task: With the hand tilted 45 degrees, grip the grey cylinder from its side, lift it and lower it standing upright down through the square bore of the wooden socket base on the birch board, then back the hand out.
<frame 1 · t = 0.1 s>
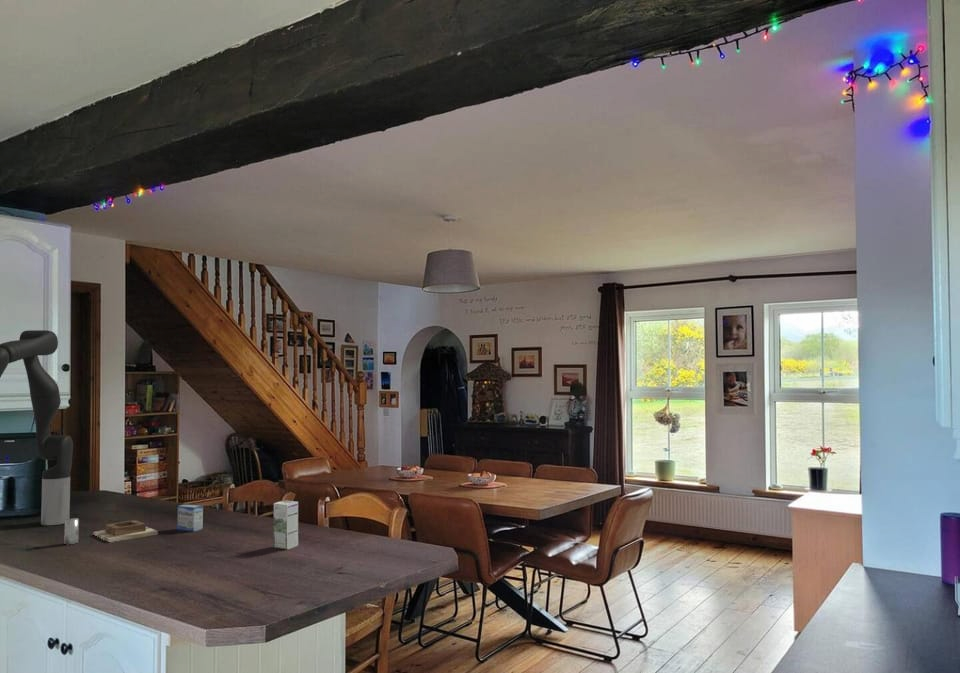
grey cylinder: (71, 543, 231), on the kitchen counter
syrup box: (285, 547, 224), on the kitchen counter
wooden socket base: (125, 534, 244), on the kitchen counter
medicine box: (190, 530, 251), on the kitchen counter
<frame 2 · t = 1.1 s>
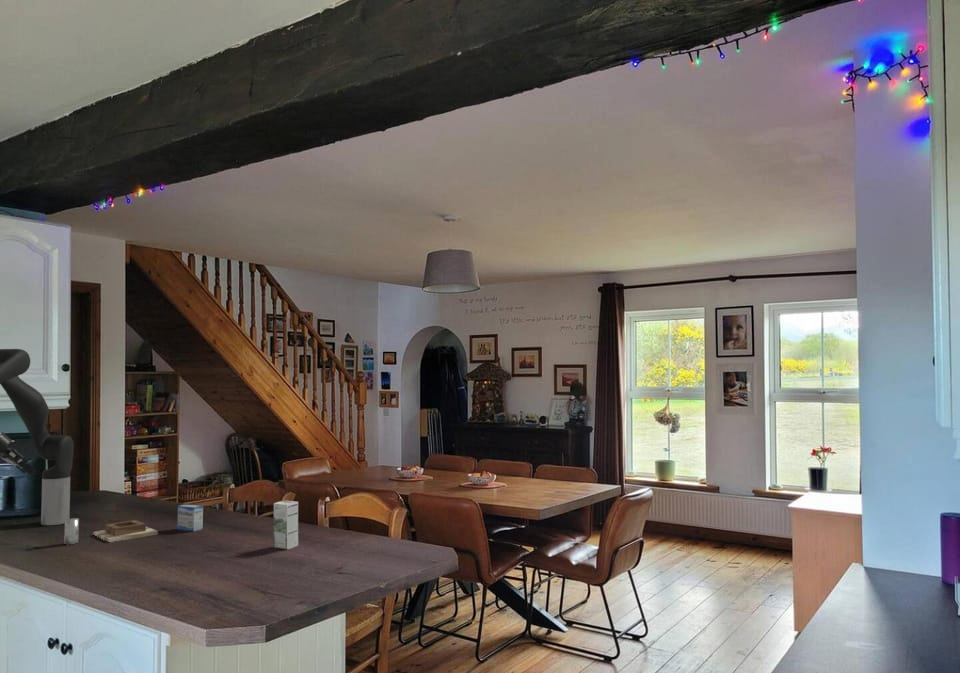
hand: (30, 472, 226), 25 cm above the kitchen counter, tool tilted 45°, fingers open, 8 cm apart
nothing on the kitchen counter moved.
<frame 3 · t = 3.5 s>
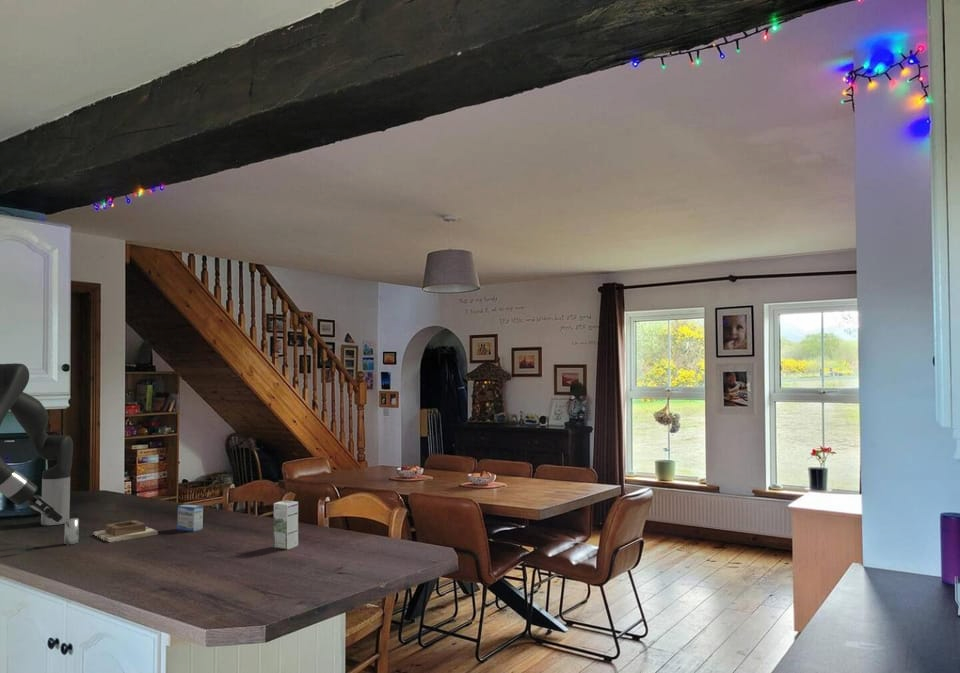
hand: (56, 517, 228), 9 cm above the kitchen counter, tool tilted 45°, fingers open, 8 cm apart
nothing on the kitchen counter moved.
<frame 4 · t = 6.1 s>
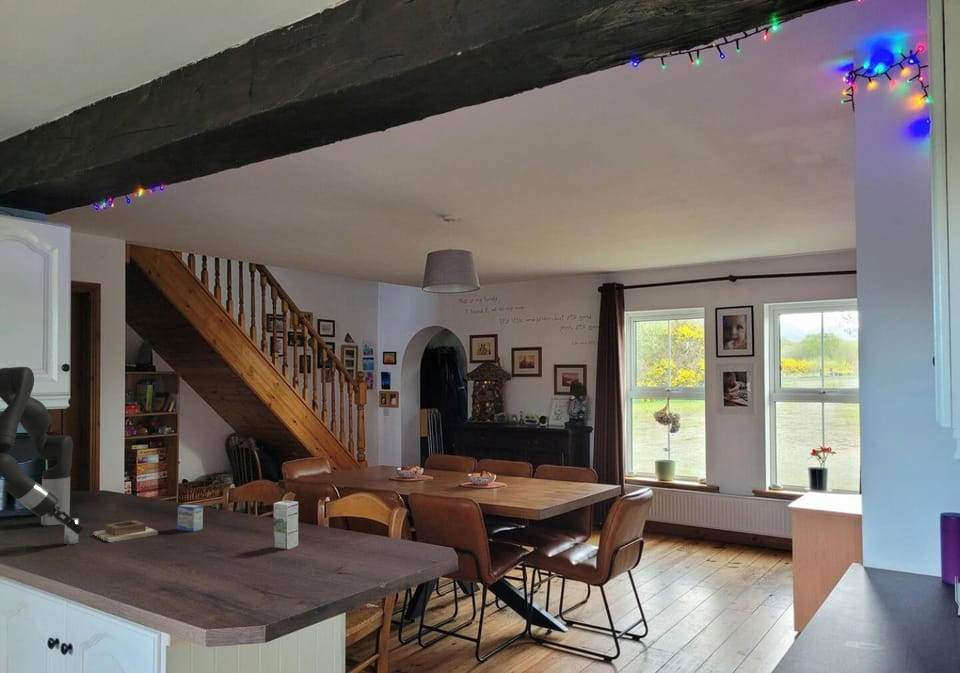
hand: (78, 530, 233), 4 cm above the kitchen counter, tool tilted 45°, fingers closed on grey cylinder, 4 cm apart
grey cylinder: (71, 543, 231), on the kitchen counter, touching gripper
everything else where it was.
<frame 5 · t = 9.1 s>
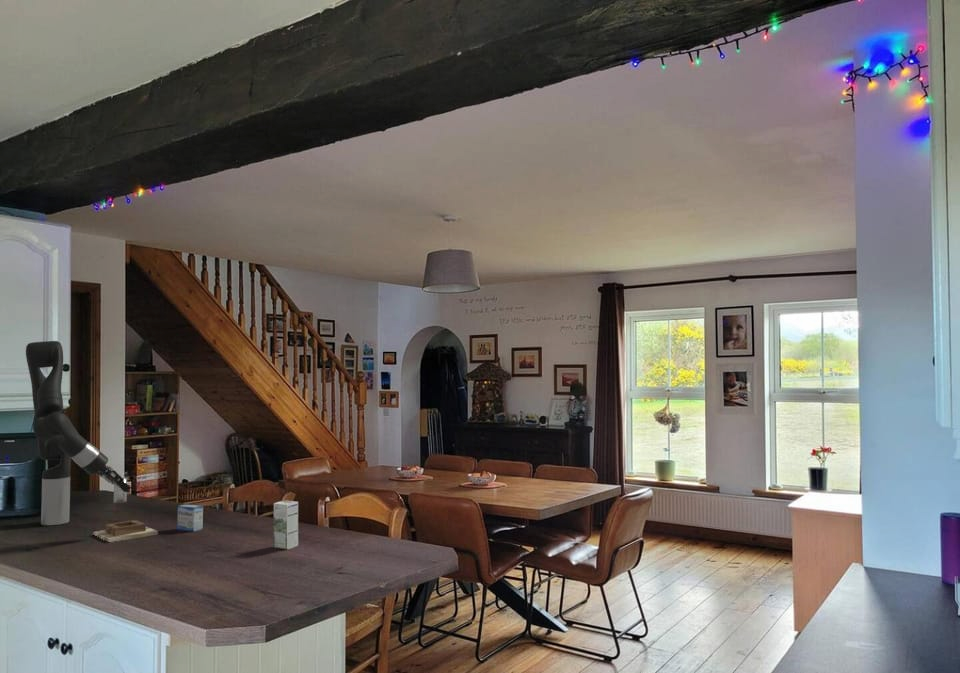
hand: (126, 489, 244), 16 cm above the kitchen counter, tool tilted 45°, fingers closed on grey cylinder, 4 cm apart
grey cylinder: (120, 501, 243), point 12 cm above the kitchen counter, touching gripper
everything else where it was.
when the fingers open (7 cm above the kitchen counter, at t = 12.3 s): grey cylinder drops 1 cm, resting on wooden socket base.
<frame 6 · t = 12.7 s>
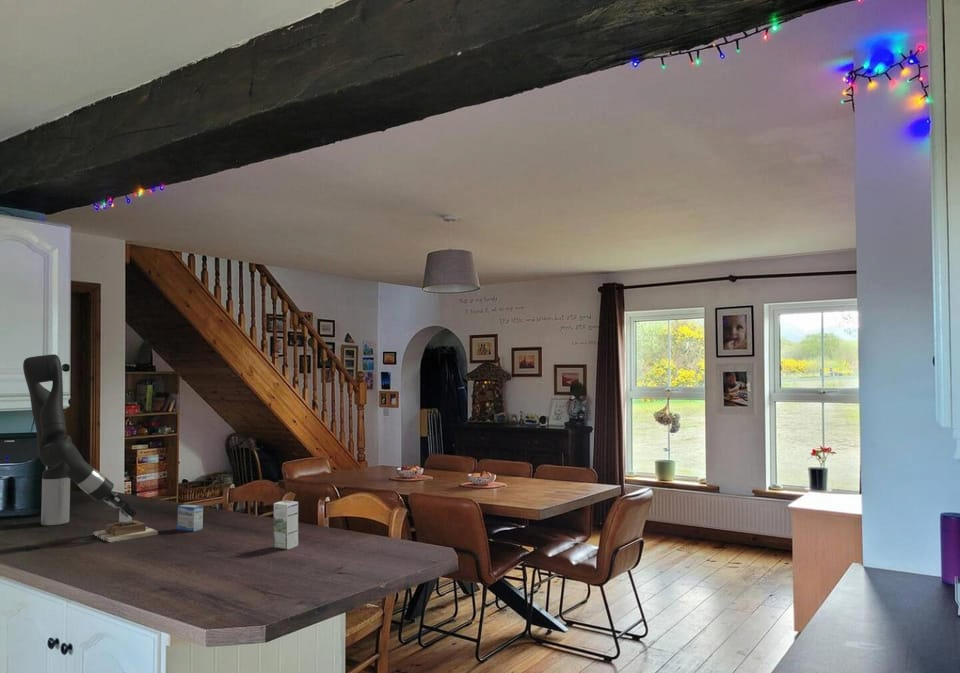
hand: (130, 513, 245), 7 cm above the kitchen counter, tool tilted 45°, fingers open, 7 cm apart
grey cylinder: (125, 531, 243), point 1 cm above the kitchen counter, touching wooden socket base
everything else where it was.
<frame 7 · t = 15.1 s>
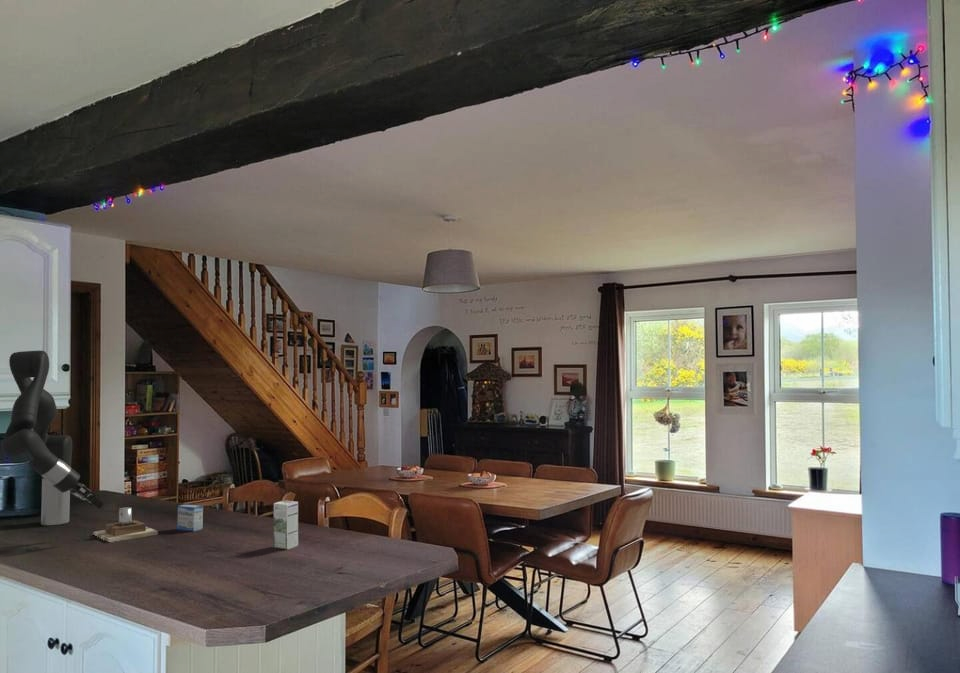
hand: (97, 504, 238), 12 cm above the kitchen counter, tool tilted 45°, fingers open, 8 cm apart
nothing on the kitchen counter moved.
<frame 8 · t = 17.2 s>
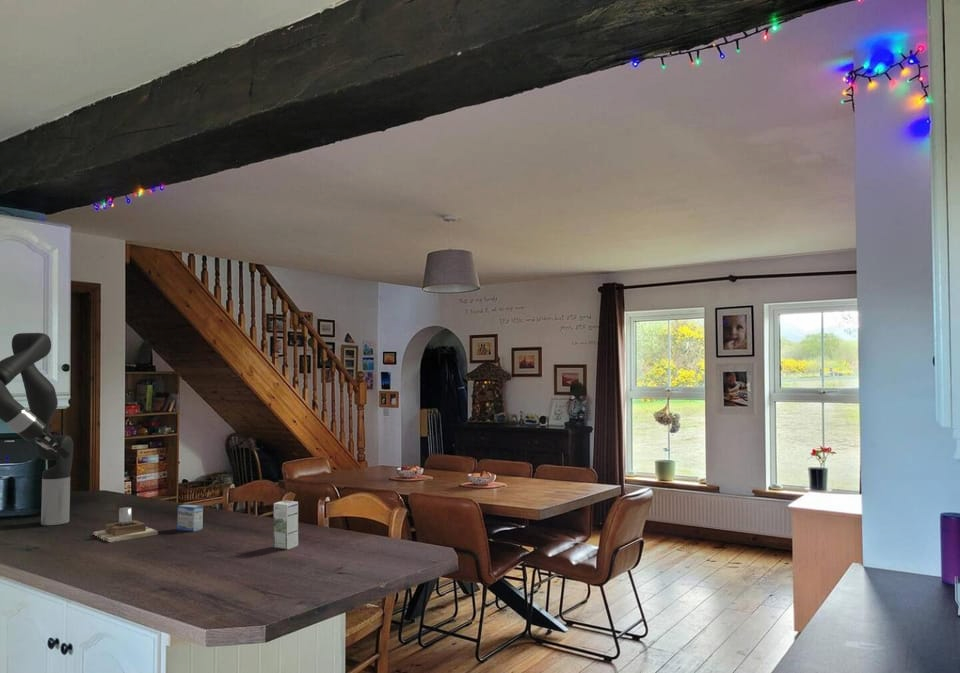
hand: (63, 455, 238), 29 cm above the kitchen counter, tool tilted 45°, fingers open, 8 cm apart
nothing on the kitchen counter moved.
at the end: grey cylinder 0.1 cm off-centre on the wooden socket base, point 1.2 cm above the wooden socket base's base; grey cylinder tilted 1°; the gripper is holding nothing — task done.
